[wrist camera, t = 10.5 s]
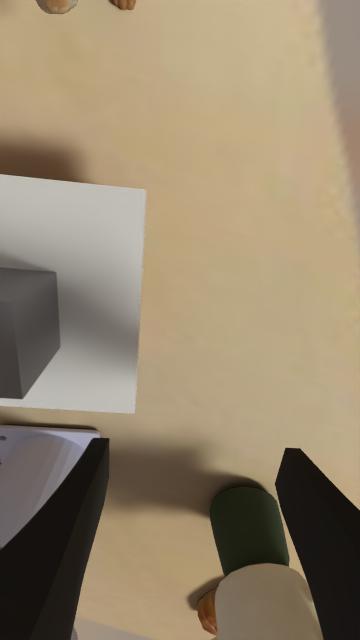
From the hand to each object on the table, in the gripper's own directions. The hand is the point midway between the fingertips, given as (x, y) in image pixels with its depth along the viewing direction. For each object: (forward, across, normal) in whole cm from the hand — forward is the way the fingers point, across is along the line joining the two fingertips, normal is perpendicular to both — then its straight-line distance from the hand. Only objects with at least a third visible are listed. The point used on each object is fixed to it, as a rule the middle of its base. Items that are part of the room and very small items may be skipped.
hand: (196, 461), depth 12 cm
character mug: (+11, -7, +16) cm, 20 cm away
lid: (+6, +9, -4) cm, 11 cm away
